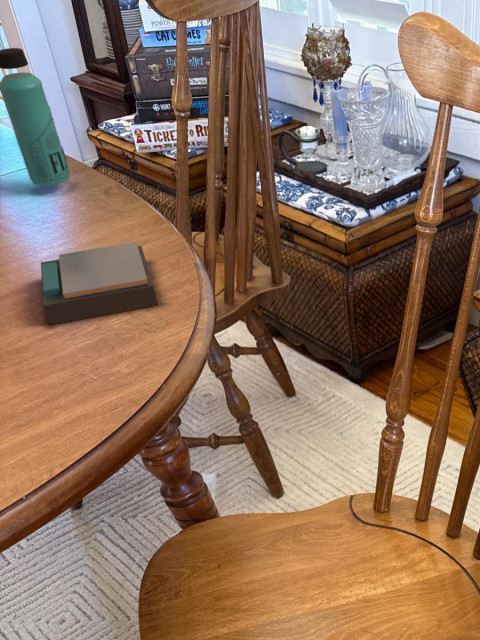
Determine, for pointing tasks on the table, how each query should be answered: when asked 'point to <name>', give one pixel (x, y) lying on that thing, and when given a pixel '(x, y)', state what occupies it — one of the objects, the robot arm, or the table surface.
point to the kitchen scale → (96, 283)
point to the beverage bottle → (32, 122)
